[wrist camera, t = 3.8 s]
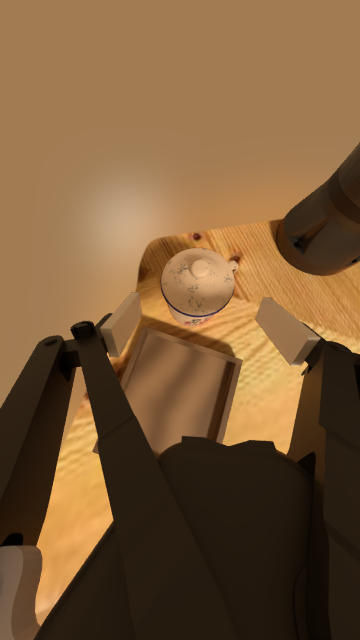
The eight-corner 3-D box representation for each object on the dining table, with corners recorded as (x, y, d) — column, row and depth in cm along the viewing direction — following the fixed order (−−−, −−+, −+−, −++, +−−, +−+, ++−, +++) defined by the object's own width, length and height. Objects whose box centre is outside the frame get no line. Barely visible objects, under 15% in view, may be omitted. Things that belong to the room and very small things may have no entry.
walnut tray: (236, 359, 24) (242, 360, 21) (204, 484, 20) (207, 502, 18) (147, 328, 25) (143, 325, 23) (102, 440, 21) (92, 451, 19)
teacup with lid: (185, 338, 24) (188, 327, 13) (158, 297, 26) (139, 255, 15) (240, 302, 26) (286, 263, 14) (211, 264, 27) (231, 203, 16)
